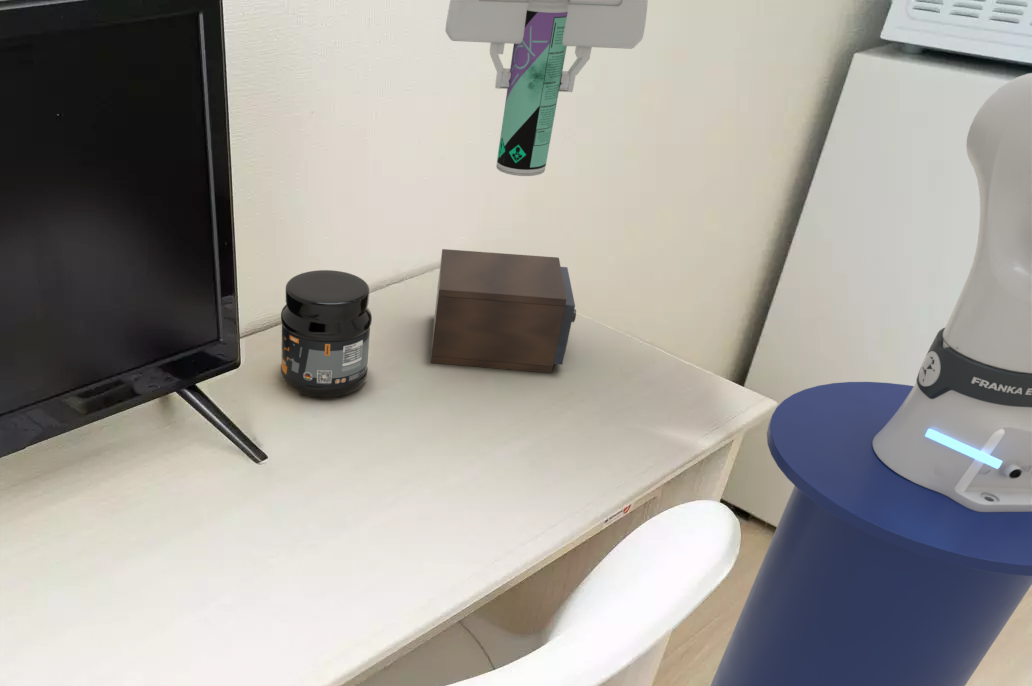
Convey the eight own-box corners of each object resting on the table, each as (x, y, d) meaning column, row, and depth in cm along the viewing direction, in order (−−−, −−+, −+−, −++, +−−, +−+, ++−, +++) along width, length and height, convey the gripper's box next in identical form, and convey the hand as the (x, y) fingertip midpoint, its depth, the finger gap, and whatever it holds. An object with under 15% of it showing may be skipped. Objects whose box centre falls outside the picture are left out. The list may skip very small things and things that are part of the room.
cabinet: (545, 327, 124) (559, 257, 119) (551, 373, 114) (566, 299, 108) (434, 318, 126) (442, 248, 120) (430, 362, 116) (439, 289, 110)
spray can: (516, 158, 109) (547, -37, 97) (554, 169, 106) (591, -31, 94) (486, 167, 106) (513, -33, 94) (524, 179, 103) (557, -26, 91)
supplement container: (293, 353, 118) (295, 262, 110) (375, 365, 115) (382, 273, 108) (269, 393, 110) (269, 298, 102) (356, 407, 107) (363, 311, 100)
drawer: (565, 324, 123) (577, 267, 118) (572, 365, 114) (585, 306, 109) (452, 315, 125) (459, 259, 120) (450, 355, 116) (458, 296, 111)
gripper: (659, -59, 94) (627, 87, 102) (455, -65, 96) (440, 78, 105) (669, -52, 89) (635, 101, 97) (454, -59, 91) (438, 91, 100)
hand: (532, 89), depth 101 cm, fingers closed on spray can, 5 cm apart
